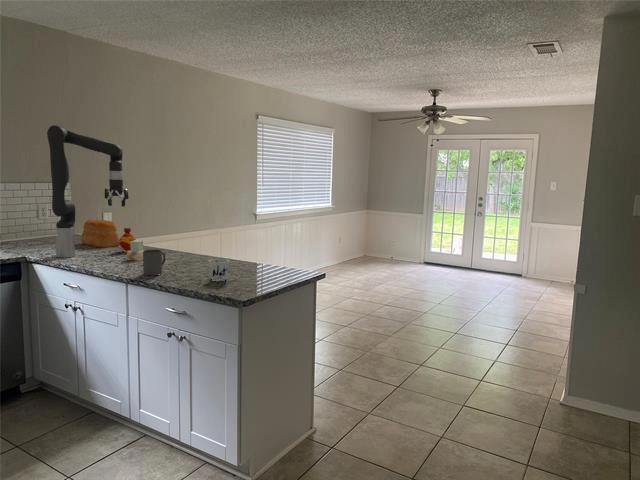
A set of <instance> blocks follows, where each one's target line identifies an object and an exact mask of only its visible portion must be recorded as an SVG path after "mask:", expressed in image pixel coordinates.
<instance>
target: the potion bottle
mask: <svg viewBox="0 0 640 480" xmlns="http://www.w3.org/2000/svg"><path fill="white" fill-rule="evenodd" d="M123 229H124V230H123V232H124V233H123V235H121V236H119V243H120V244H119V246H120V247H121V248H122V249H123V252H124V253H127V251H131V243H130V241H134V240H137V238H136V237H135V235H132V234H131V232H132V230H131V227H124V228H123Z"/></svg>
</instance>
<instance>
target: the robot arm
mask: <svg viewBox="0 0 640 480" xmlns="http://www.w3.org/2000/svg"><path fill="white" fill-rule="evenodd" d="M46 137H47V141H48V146H49V155H50V157H49V160H50V175H51V187H52V189H51V190H52V192H51V193H52V197H51V198H52V199H51V208H52V209H51V210H52V213H53V214H54V215H55V216H56V217H60V219H58V221H57V222H56V223H55V225H56V226H55V227H56V228H55V229H56V231H55V232H56V240H55V242H54V243H55V257H56V258H57V257H58V258H66V259H67V258H73V257H76V244H75V243H76V241H75V240H76V239H75V223H76V205H75V203H74V201H72V200H70V199H66V197H65V190H66V188H67V186H68V183H69V180H70V168H69V166H70V165H69V163H68V160H67V159H68V158H67V156H66V153H65V144H71V145H76V146H78V147H81V148H83V149H87V150H90V151H93V152H97V153H102V154H105V155H107V156H109V158H110V159H109V163H108V165H109V166H108V171H109V172H108V183H109V184H108V186H109V187H107V188H105V187H104V199H106V200H107V205H108V206H109V207H112V206H113V200H112V199H113V198H114V197H118V198H120V199H121V207H123V208H124V207H126V200H129V189H128V188H123V187H124V175H123V174H124V173H123V153H124V152H123V148H122V147H121V146H120V145H119V144H115V143H111V142H108V141H104V140H101V139H97V138H94V137H92V136H91V137H90V136H85V135H82V134H78V133H75V132H73V131H70V130H68V129H66V128H64V127H63V126H61V125H60V126H59V125H51V126H49V127H48V128H47V131H46Z"/></svg>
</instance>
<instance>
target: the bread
mask: <svg viewBox="0 0 640 480" xmlns="http://www.w3.org/2000/svg"><path fill="white" fill-rule="evenodd" d="M117 230H118V228H117V225H116V224H115V223H114V222H113V221H112V220H105V219H98V218H96V219H95V218H94V219H93V218H92V219H88V220H86V221H85V222H84V224H83V230H82V233H81V238H80V242H81V244H83V245H87V246H93V247H97V248H111V247H117V246H120V243H119V240H120V236H119V234H118V231H117Z"/></svg>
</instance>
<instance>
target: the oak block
mask: <svg viewBox="0 0 640 480" xmlns="http://www.w3.org/2000/svg"><path fill="white" fill-rule="evenodd" d="M143 251H145V249H143ZM143 251H140V252H131V251H127V252H126V259H127V261H128V260H129V261H137V262H138V261H143Z"/></svg>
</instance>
